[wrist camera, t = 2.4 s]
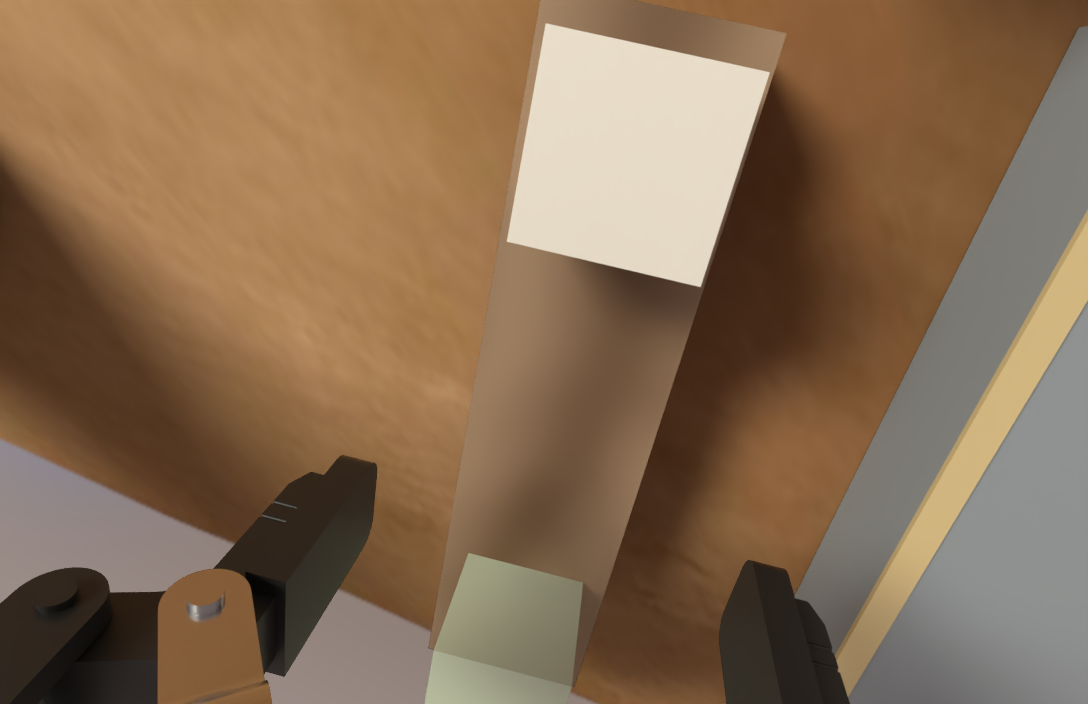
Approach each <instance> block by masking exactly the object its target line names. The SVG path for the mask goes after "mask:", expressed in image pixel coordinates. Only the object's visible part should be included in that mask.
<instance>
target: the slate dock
mask: <svg viewBox="0 0 1088 704" xmlns="http://www.w3.org/2000/svg"><path fill="white" fill-rule="evenodd" d="M794 597H795V598H796V599H800V600H804V601H808V602H809V603H810V605H811V606H812V608H813V609H814V610H815V612H816V613H817V614H818V616H819V617H820V619H821V620H822V621H823V623H824V624H825V626H826V630H827V633H828V636H829V639H830V642H831V645H832V652H833V653H834V655H835V658H836V661H837V664H838V667H839V668H838V672H840V674H841V677H842V680H843V683H844V686H845V690H846V693H847V696H848V699H849V702H850V704H1088V26H1085V27H1079V28H1078V30H1077V32H1076V34H1075V36H1074V38H1073V40H1072V42H1071V44H1070V46H1069V48H1068V50H1067V52H1066V54H1065V56H1064V58H1063V60H1062V62H1061V64H1060V66H1059V68H1058V70H1057V72H1056V74H1055V76H1054V78H1053V80H1052V82H1051V84H1050V86H1049V88H1048V90H1047V92H1046V94H1045V96H1044V98H1043V100H1042V102H1041V104H1040V106H1039V108H1038V110H1037V112H1036V114H1035V116H1034V118H1033V120H1032V122H1031V124H1030V126H1029V128H1028V130H1027V132H1026V134H1025V136H1024V138H1023V140H1022V142H1021V144H1020V146H1019V148H1018V150H1017V152H1016V154H1015V156H1014V158H1013V160H1012V162H1011V164H1010V166H1009V168H1008V170H1007V172H1006V174H1005V176H1004V178H1003V180H1002V182H1001V184H1000V186H999V188H998V190H997V192H996V194H995V196H994V198H993V200H992V202H991V204H990V206H989V208H988V210H987V212H986V214H985V216H984V218H983V220H982V222H981V224H980V226H979V228H978V230H977V232H976V234H975V236H974V238H973V240H972V242H971V244H970V246H969V248H968V250H967V252H966V254H965V256H964V258H963V260H962V262H961V264H960V266H959V268H958V270H957V272H956V274H955V276H954V278H953V280H952V282H951V284H950V286H949V288H948V290H947V292H946V294H945V296H944V298H943V300H942V302H941V304H940V306H939V308H938V310H937V312H936V314H935V316H934V318H933V320H932V322H931V324H930V326H929V328H928V330H927V332H926V334H925V336H924V338H923V340H922V342H921V344H920V346H919V348H918V350H917V352H916V354H915V356H914V358H913V360H912V362H911V364H910V366H909V368H908V370H907V372H906V374H905V376H904V378H903V380H902V382H901V384H900V386H899V388H898V390H897V392H896V394H895V396H894V398H893V400H892V402H891V404H890V406H889V408H888V410H887V412H886V414H885V416H884V418H883V420H882V422H881V424H880V426H879V428H878V430H877V432H876V434H875V436H874V438H873V440H872V442H871V444H870V446H869V448H868V450H867V452H866V454H865V456H864V458H863V460H862V462H861V464H860V466H859V468H858V470H857V472H856V474H855V476H854V478H853V480H852V482H851V484H850V486H849V488H848V490H847V492H846V494H845V496H844V498H843V500H842V502H841V504H840V506H839V508H838V510H837V512H836V514H835V516H834V518H833V520H832V522H831V524H830V526H829V528H828V530H827V532H826V534H825V536H824V538H823V540H822V542H821V544H820V546H819V548H818V550H817V552H816V554H815V556H814V558H813V560H812V562H811V564H810V566H809V568H808V570H807V572H806V574H805V576H804V578H803V580H802V582H801V584H800V586H799V588H798V590H797V592H796V594H795V596H794Z"/></svg>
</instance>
